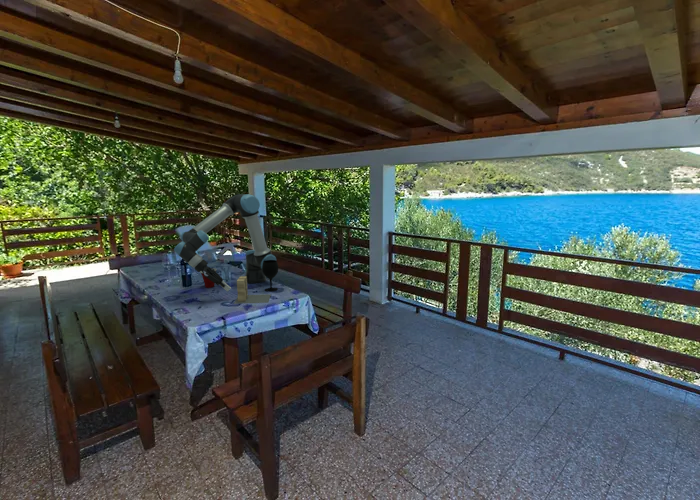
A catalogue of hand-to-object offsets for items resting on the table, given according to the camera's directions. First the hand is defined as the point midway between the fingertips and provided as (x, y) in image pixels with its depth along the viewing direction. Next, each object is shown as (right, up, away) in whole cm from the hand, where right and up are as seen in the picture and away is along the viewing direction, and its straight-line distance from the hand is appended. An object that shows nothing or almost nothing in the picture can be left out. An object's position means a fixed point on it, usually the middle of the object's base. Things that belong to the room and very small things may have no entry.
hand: (229, 289), depth 209 cm
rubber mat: (+14, -6, +3) cm, 15 cm away
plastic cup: (-24, -2, +29) cm, 38 cm away
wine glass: (+20, -3, +22) cm, 30 cm away
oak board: (+8, -6, +2) cm, 10 cm away
